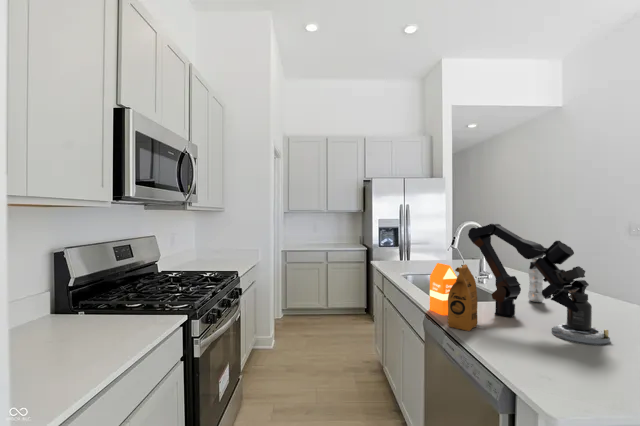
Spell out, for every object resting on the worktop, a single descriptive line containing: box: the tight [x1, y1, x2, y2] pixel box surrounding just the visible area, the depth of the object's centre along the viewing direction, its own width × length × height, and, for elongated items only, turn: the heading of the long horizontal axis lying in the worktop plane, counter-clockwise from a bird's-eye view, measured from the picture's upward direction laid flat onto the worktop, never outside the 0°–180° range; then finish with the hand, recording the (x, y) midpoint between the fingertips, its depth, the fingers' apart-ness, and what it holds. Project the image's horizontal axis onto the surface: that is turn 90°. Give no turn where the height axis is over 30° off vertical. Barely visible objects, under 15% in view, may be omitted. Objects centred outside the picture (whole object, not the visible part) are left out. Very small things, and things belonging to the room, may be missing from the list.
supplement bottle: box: [566, 292, 593, 332], centre depth 121 cm, size 7×7×12 cm
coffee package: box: [447, 264, 478, 332], centre depth 132 cm, size 10×12×22 cm
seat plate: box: [551, 322, 611, 346], centre depth 121 cm, size 16×16×4 cm
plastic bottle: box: [527, 259, 545, 303], centre depth 168 cm, size 6×7×20 cm
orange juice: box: [429, 262, 458, 316], centre depth 151 cm, size 8×9×20 cm
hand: (583, 310), depth 120 cm, fingers closed on supplement bottle, 7 cm apart
